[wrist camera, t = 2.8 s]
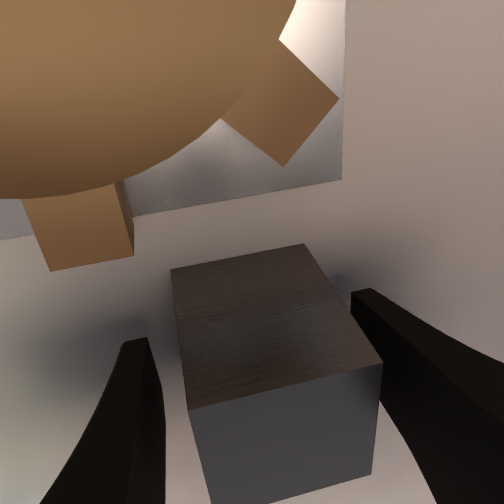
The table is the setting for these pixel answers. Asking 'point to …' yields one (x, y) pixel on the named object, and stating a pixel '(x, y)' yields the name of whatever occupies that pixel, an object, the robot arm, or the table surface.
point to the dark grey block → (274, 376)
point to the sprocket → (135, 104)
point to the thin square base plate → (242, 139)
